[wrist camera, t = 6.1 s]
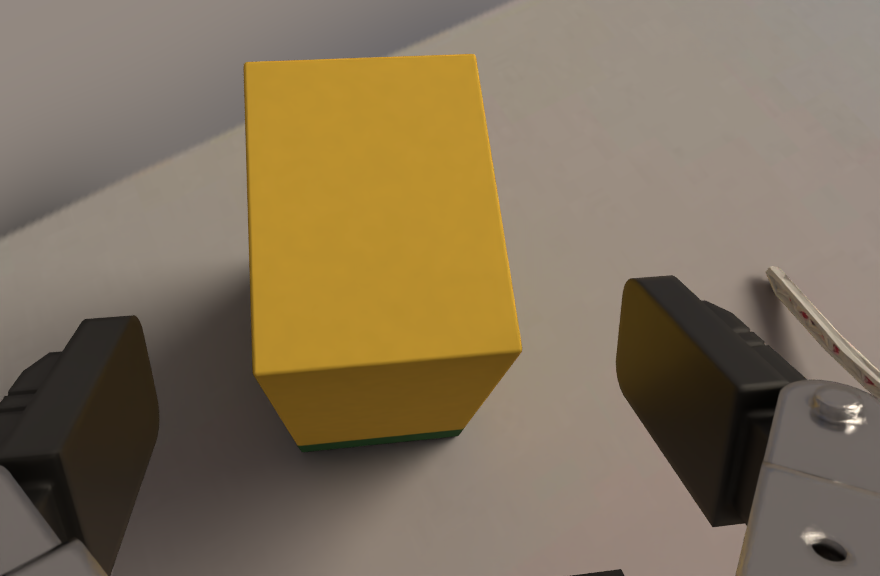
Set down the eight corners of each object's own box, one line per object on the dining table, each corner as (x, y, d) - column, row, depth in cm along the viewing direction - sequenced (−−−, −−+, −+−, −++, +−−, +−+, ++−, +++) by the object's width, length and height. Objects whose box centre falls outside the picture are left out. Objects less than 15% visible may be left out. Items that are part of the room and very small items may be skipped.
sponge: (300, 452, 20) (251, 376, 11) (290, 251, 22) (242, 60, 13) (459, 435, 20) (523, 352, 12) (435, 241, 22) (476, 51, 14)
